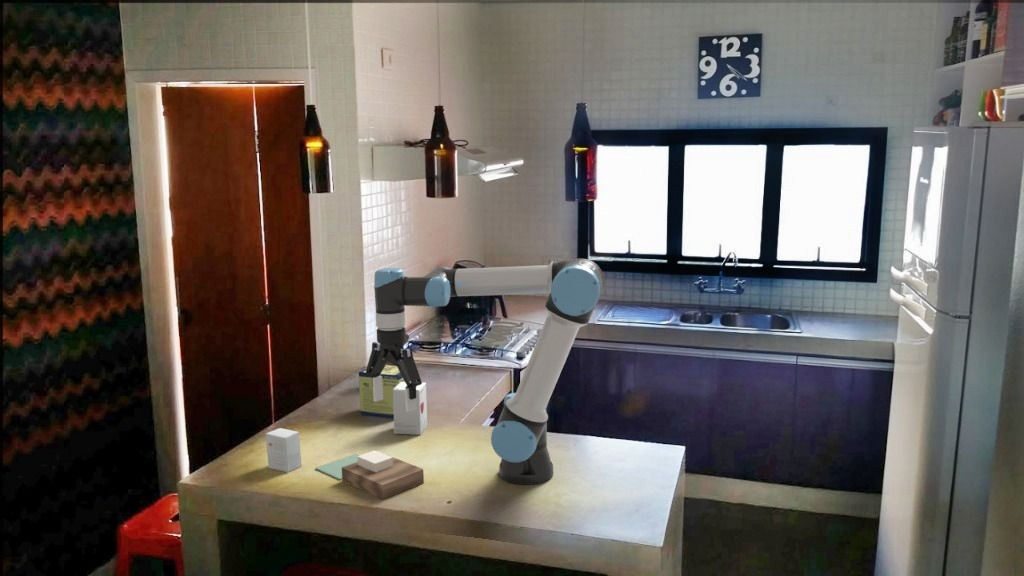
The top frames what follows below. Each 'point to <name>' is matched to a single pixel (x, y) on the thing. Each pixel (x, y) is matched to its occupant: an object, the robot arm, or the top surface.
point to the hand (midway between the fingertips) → (394, 405)
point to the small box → (283, 449)
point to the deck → (384, 478)
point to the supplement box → (414, 419)
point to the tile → (375, 461)
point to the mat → (338, 466)
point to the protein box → (390, 381)
